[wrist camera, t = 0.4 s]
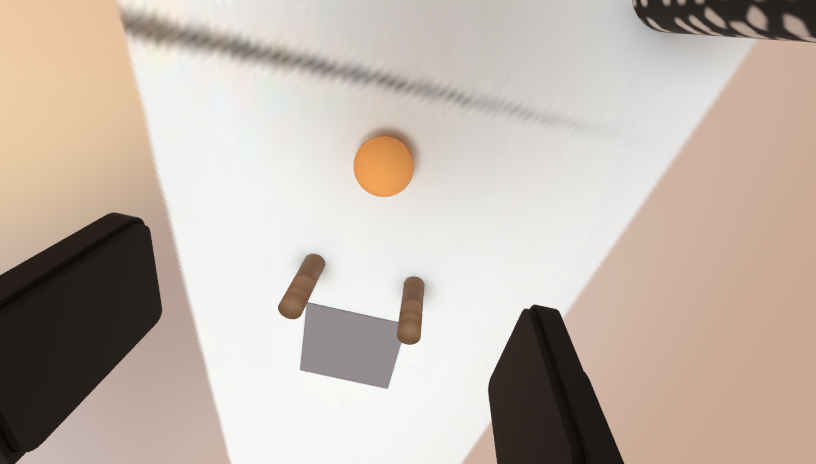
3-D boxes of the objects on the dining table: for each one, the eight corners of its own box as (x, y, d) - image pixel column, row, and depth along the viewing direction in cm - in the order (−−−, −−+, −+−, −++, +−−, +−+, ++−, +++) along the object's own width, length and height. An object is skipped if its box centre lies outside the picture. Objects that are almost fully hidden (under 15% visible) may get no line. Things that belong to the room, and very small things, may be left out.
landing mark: (307, 302, 52) (306, 303, 51) (406, 324, 52) (406, 325, 52) (300, 369, 59) (300, 370, 58) (387, 387, 59) (387, 388, 59)
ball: (364, 123, 39) (352, 139, 34) (421, 136, 39) (417, 155, 34) (356, 176, 42) (343, 199, 37) (408, 188, 42) (404, 212, 37)
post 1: (305, 252, 47) (278, 298, 40) (325, 256, 47) (302, 303, 40) (304, 268, 49) (277, 316, 41) (323, 272, 49) (301, 321, 41)
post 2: (406, 274, 48) (399, 324, 40) (426, 279, 48) (423, 330, 40) (402, 290, 49) (394, 341, 41) (421, 294, 49) (417, 346, 41)
